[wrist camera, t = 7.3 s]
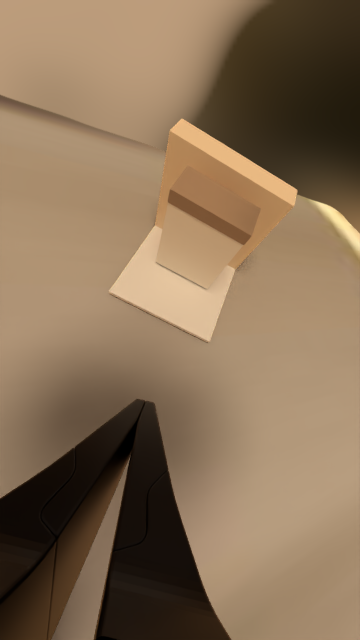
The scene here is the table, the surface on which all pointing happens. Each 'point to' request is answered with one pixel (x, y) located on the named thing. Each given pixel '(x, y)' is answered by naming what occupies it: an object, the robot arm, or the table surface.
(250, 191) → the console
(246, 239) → the brown topped beige block
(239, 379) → the table surface
